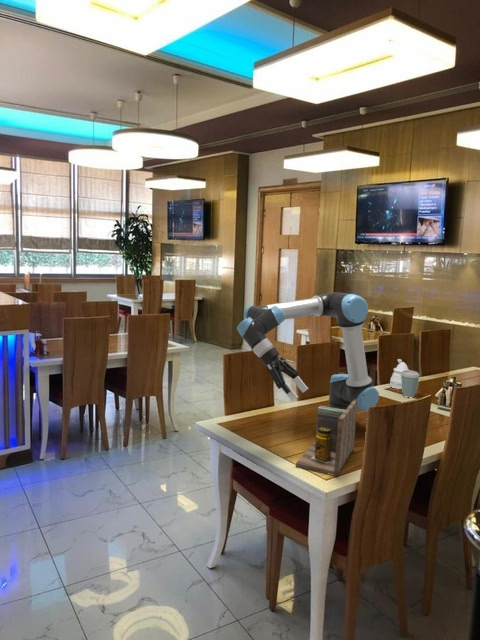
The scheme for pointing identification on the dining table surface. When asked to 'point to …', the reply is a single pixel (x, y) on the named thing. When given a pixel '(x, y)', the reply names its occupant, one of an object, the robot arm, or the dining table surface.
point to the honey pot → (398, 375)
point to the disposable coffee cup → (409, 382)
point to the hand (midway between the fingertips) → (300, 395)
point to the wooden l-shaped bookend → (333, 439)
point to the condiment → (323, 445)
